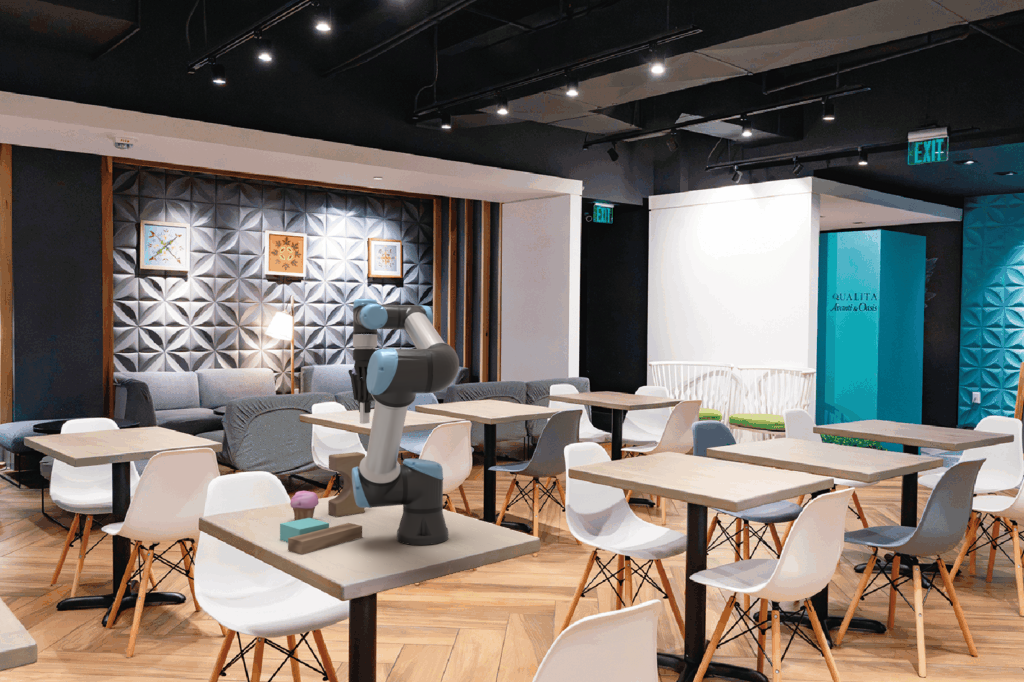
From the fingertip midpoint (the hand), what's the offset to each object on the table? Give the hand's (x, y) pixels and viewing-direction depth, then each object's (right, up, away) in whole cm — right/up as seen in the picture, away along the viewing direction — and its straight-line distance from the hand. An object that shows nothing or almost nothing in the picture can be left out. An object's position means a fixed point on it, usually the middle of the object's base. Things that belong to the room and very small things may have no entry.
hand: (364, 423), depth 238 cm
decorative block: (-9, -33, +17) cm, 38 cm away
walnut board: (-7, -32, -21) cm, 39 cm away
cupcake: (-20, -33, +5) cm, 39 cm away
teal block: (-14, -33, -16) cm, 39 cm away
